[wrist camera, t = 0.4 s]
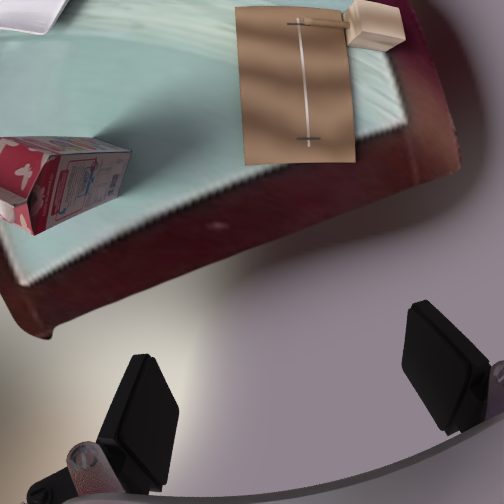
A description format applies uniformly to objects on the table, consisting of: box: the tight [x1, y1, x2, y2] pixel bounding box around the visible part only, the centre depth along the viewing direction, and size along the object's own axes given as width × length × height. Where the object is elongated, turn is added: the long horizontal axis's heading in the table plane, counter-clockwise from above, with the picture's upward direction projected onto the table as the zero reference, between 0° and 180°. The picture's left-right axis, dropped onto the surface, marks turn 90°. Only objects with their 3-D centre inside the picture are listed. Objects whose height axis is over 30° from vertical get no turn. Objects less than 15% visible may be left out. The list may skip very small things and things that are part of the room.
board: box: [235, 6, 355, 165], centre depth 32 cm, size 22×14×1 cm, turn 4°
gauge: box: [303, 0, 406, 52], centre depth 27 cm, size 5×12×6 cm, turn 94°
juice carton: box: [0, 136, 132, 236], centre depth 25 cm, size 7×7×22 cm
